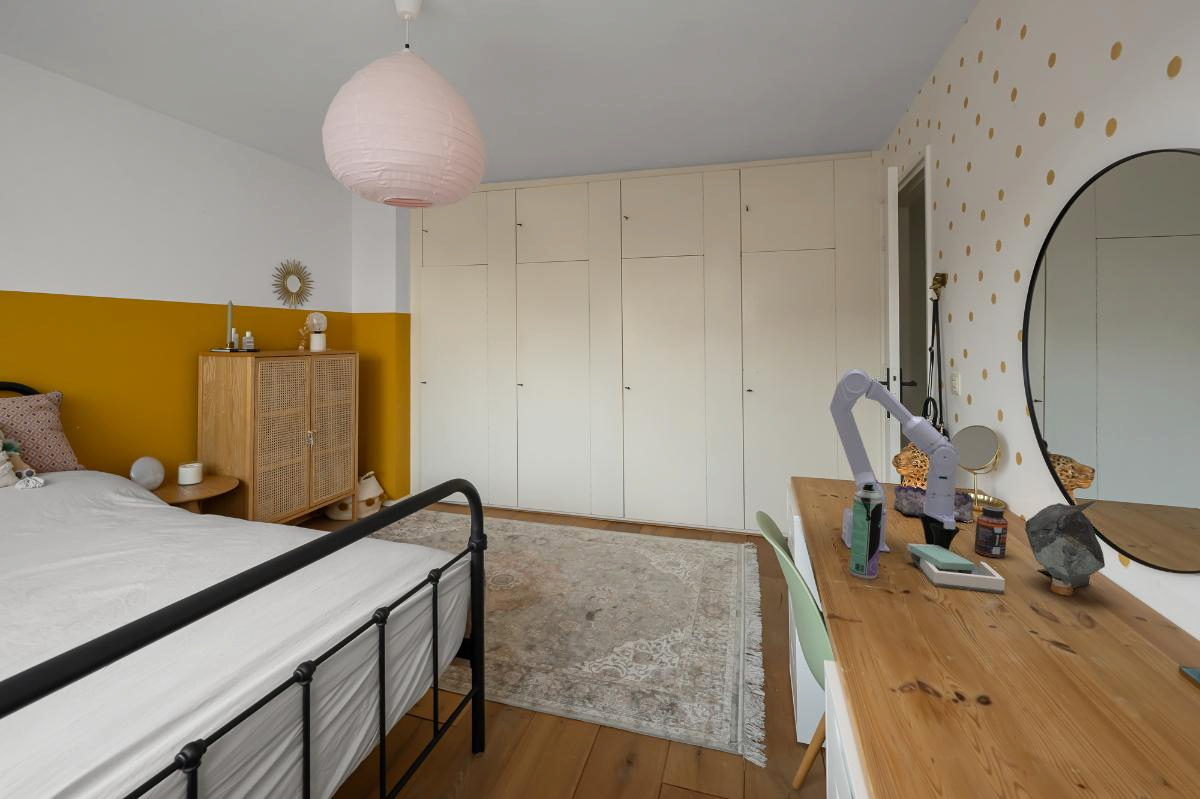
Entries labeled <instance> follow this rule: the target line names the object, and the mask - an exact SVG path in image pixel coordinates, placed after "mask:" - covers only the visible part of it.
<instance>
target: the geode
mask: <svg viewBox="0 0 1200 799" xmlns="http://www.w3.org/2000/svg"><path fill="white" fill-rule="evenodd" d="M893 490H894V491H893V493H894V495H895V498H894V503H893V507H894V509H897V510H898V511H900V512H901V513H902V514H903V515H909V516H917V517H919V515H918V514H919V513H924V512H923V511H924V510H923V505H924V502H925V497H926V489H924V488H921V487H920V486H916V487H915V486H913V485H910V484H909V485H908V484H907V485H906V486H903V485H897V486H895V487H894V489H893ZM974 510H975V507H974V499H973V498H972V496H971V494H969V492H964V491H962V492H958V491H956V490H955V498H954V511H955V512H958V513H959V516H958V517H956V516H955V517H954V520H955V521H961V522H963V521H967V522H968V521H970V520H973V519H974V513H973V512H974ZM973 521H974V520H973Z"/></svg>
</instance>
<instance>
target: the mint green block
mask: <svg viewBox="0 0 1200 799" xmlns="http://www.w3.org/2000/svg"><path fill="white" fill-rule="evenodd" d="M906 550H907V551H909V552H911V553H910V557H911V560H912V559H913V560H914V561H920V557H921V558H923V559H925V560H926V561H928V562H930V563H932V564H933V565H935V567H936V568H937V570H938V571H945V572H947V571H948V570H947V569H954V570H958V571H959V573H964V574H972V571H974V570H975V565H976V564H975V563H974V562H972V561H971V560H968V559H967V558H964V557H962V556H960V555H958V554H956V553H955V552H953V551H950V550H947V549H945V548H943V547H941V546H939V545H930V544H926V543H925V544H922V543H907V544H906ZM913 560H912V561H913ZM914 561H913V562H914Z"/></svg>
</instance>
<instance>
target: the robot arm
mask: <svg viewBox="0 0 1200 799" xmlns="http://www.w3.org/2000/svg"><path fill="white" fill-rule="evenodd" d="M863 396H865V398H866V399H868V400H872V401H875V402H878V403H879V404H880V405H881V406H882V407H883V408H885V409H886V411H887V412H889V413H890V414H891V415H892V417H894V418H895V419H896V420H897V421H898V422H899V423H900V424H901V426H902V427H901V428H902V429H901V432H902V434H903V436H905V437H906V438H907V439H908V440H909V441H910V442H911V443H912V444H913V445H914V446H915V447H916V448H917V449H918V450H919V451H920V452H921V453H923V454H926V457H927V459H928V460H929V462H928V471H927V474H926V485H925V490H926V497H925V502H924V505H923V510H924V511H923V512H924V513H919V514H918V515H919V516H918V518H919V520H920V522H921V525H922V529H923V533H924V540H925V545H939V546H941V547H943V548H945V549H947V550H949V549H950V547H951V544H952V542H953V540H954V538H955V537H956V536H957V534H958V533H960V527H959V526H956V522H957V520H954V517H955V516H956V517H958V516H959V513H958V512H955V511H954V498H955V491H956V484H957V475H956V472H957V467H958V465H959V464H960V462H961V457H960V454H959V451H958V450H957V449H956V448H955V446H953V444H952V443H951V442H950V441H949V438H948V437H947V436H946V435H942V434H941V433H940V432H939V431H938V430H937V429H936V428H935V427H934V426H933V425H934V423H933V422H932V421H931V419H930V418H927V419H926V418H925V417H923V416H915V415H913V414H912V413H911V412H910V411H909V410H908V409H907V408H906V407H905V406H904V405H903V404H902V403H901V402H900V401H899V399H897V398H896V396H894V394H892V393H891V391H889V390H888V389H887V387H886V386H884V385H883V384H882V383H881V382H879V381H878V380H876V379H875V378H873V377H872V376H871V377H870V376H869V374H868V372H866V371H865V370H862V369H861V368H854V369H853V368H852V369H850V370H847V372H845V374H844V375H843V376H842V377H841V379H840V380H839V381H838V383H837V384H836V387H835V390H834V394H833V397H832V400H831V403H830V407H829V410H830V413H831V415H832V418H833V422H834V424H835V427H836V430H837V432H838V436H839V439H840V441H841V444H842V447H843V450H844V453H845V456H846V458H847V461H848V464H849V467H850V470H851V472H852V475H853V479H854V483H855V486H856V492H858V491H860V490H861V489H862V488H863V487H864V484H867V483H871V484H873V488H874V489H875V490H876V492H877V493H878V494H879V495H881V496H882V516H881V531H880V547H879V552H889V553H890V551H891V549H890V548H889V547H888V545H887V544H886V531H887V530H886V528H887V514H888V513H887V512H888V511H887V510H888V509H886V505H887V498H886V491H885V487H884V486H883V485H882V483H880V482H879V481H878V480H877V478H876V474H875V473H874V472H875V471H874V470H873V467H872V465H871V462H870V459H869V456H868V454H867V450H866V448H865V445H864V442H863V440H862V437H861V434H860V431H859V428H858V424H857V422H856V420H855V416H854V414H853V411H852V409H853V407H854V406H855V405H856V403H857V402H858V400H859V399H860V398H862V397H863ZM852 521H853V507H852V508H847V507H846V508H844V510H843V519H842V535H841V538H842V540H843V542H844V544H845V546H846V547H847V548H848V549H851V538H852ZM949 551H950V550H949Z"/></svg>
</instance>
